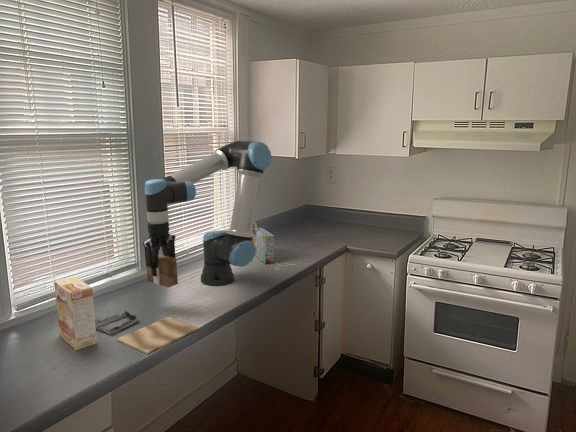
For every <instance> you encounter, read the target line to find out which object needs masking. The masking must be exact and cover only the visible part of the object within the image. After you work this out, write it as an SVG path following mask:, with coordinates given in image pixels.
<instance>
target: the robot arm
mask: <svg viewBox="0 0 576 432" xmlns="http://www.w3.org/2000/svg"><path fill="white" fill-rule="evenodd" d="M212 153H213V154H210V155H208V156H206V157H204V158H201V159H200V160H197V161H196V162H194V163H192V164H189V165H187V166H186V167H184V168H182V169H179V170H178V171H175V172H173V173H171V174H169V175H167V176H165V177H162V178H155V179H149V180H146V181H145V183H144V196H145V204H146V219H147V220H146V221H147V222H148V223H147V231H148V234H149V236H148V239H147V240H146V241H143V242H142V246H143V247H144V255H145V257H144V258H145V259H144V260H145V266H147V267H150V268H151V272H152V276H153V279H154V283H153V284H155V285H159V284H160V275H159V267H157V262H158V254H160V253H159V251H160V250H162V255H164V256H169V257H173V258H176V247H175V246H176V244H175V241H176V234H171V233H169V232H170V222H169V207H168V205H172V204H178V203H185V202H186V203H187V202H190V201H194V199H195V197H196V196H197V189H196V186H195V184H196V183H198V182H200V181H201V180H204V179H206V178H207V177H210V176H211V175H212V174H215V173H218V172H219V171H226V170H228V169H230V168H236V171H237V173H238V179H237V180H238V181H237V186H236V191H235V192H236V193H235V197H234V204H233V209H232V216H231V221H230V227H229V229H228V230H227V229H226V230H225V229H223V230H221V229H220V230H213V231H208V232H205V233H204V234H203V239H202V243H203V244H202V246H203V268H202V272H201V275H200V282H201V283H202V284H203V285H207V286H214V287H215V286H224V285H229V284H231V283H233V282H234V281H235V273H234V272H233V269H232V266H234V267H242V268H243V267H245V266H247V265H249V263H251V262H252V261H253V259H254V258H255V246H254V244H253V242H252V240H253V235H252V234H251V232H250V231H251V226H252V220H253V215H254V209H255V202H256V197H257V191H258V187H259V180H260V177H262V176H263V175H264V172H265V170H266V169H267V168H269V167H270V165H271V163H272V162H271V161H272V153H271V150H270V149H269V146H268V145H267V144H266V143H264V142H262V141H256V140H234V141H233V142H230V143H228V144H225V145H224V146H223V145H222V146H221V147H219V148H217V149H215V150H214V151H213V152H212ZM231 265H232V266H231ZM147 267H146V268H147ZM159 286H160V285H159Z"/></svg>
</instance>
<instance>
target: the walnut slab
mask: <svg viewBox="0 0 576 432" xmlns="http://www.w3.org/2000/svg"><path fill="white" fill-rule="evenodd" d="M177 265H178V264H177V258H176V257H175V258H173V257H169V256H164V255H163V254H161V253H158V262H157V267H159V275H160V284H159V286H162V287H166V288H171V287H173V286H176V285H178V284H179V280H178V266H177ZM145 266H146V265H145ZM146 277H147V278H146V279H147V282H150V283H153V284H155V283H154V279H153V276H152V272H151V268H150V267H147V266H146Z"/></svg>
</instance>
